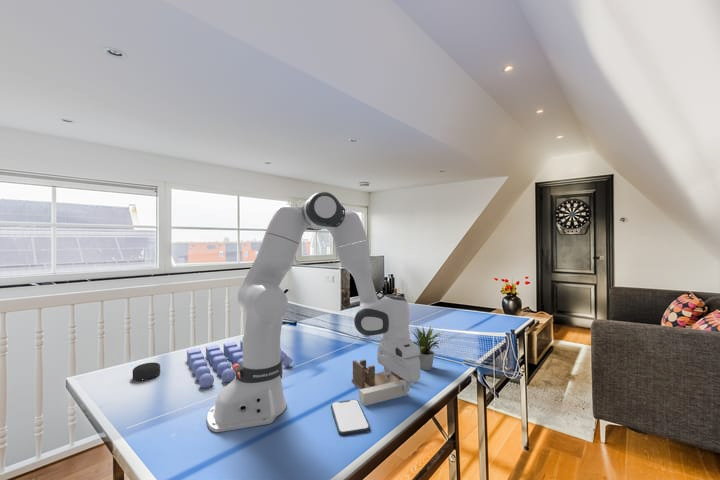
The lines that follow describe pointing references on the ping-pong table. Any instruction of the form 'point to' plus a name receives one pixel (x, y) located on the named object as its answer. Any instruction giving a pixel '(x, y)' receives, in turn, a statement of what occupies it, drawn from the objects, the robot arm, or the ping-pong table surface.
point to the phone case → (349, 418)
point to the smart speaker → (146, 371)
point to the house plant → (426, 348)
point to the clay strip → (381, 392)
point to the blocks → (220, 362)
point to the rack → (369, 376)
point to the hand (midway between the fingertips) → (397, 385)
